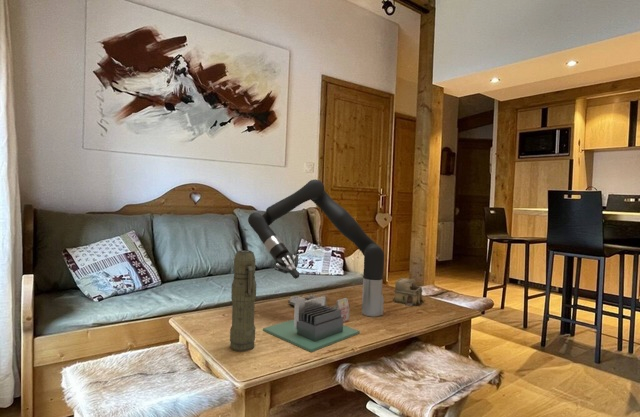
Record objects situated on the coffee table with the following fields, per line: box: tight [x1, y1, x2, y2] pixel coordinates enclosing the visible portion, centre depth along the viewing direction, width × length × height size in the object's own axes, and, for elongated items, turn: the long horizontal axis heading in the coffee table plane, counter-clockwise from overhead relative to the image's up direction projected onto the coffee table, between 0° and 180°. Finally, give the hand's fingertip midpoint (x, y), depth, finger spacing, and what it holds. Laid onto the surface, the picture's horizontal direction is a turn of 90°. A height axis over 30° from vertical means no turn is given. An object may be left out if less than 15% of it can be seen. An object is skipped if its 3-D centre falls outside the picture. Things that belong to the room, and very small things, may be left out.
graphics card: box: [287, 293, 319, 307], centre depth 192 cm, size 17×4×12 cm
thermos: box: [229, 249, 257, 353], centre depth 136 cm, size 9×12×35 cm
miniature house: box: [392, 277, 424, 307], centre depth 202 cm, size 15×14×11 cm
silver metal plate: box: [293, 295, 327, 330], centre depth 154 cm, size 18×2×10 cm, turn 138°
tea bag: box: [333, 297, 350, 323], centre depth 168 cm, size 4×7×10 cm, turn 135°
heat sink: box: [262, 295, 361, 353], centre depth 153 cm, size 28×28×16 cm
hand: (297, 277), depth 164 cm, fingers closed
